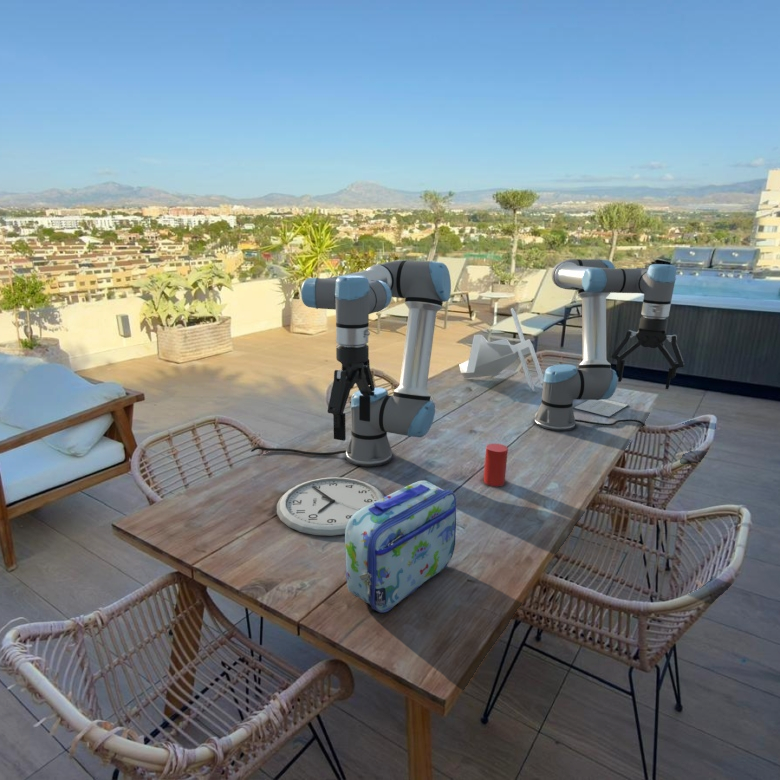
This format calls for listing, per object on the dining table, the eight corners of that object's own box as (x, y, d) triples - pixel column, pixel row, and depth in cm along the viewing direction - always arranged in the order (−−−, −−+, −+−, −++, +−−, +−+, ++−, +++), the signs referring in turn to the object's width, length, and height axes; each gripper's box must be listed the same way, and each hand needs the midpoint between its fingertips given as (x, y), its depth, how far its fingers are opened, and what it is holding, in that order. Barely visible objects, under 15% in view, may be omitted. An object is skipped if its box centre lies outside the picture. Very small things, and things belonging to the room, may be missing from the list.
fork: (417, 411, 216) (418, 406, 216) (428, 400, 231) (428, 395, 230) (423, 412, 215) (424, 407, 215) (434, 400, 230) (434, 396, 229)
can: (479, 481, 158) (482, 447, 154) (491, 475, 162) (493, 441, 159) (497, 488, 154) (500, 453, 150) (508, 481, 158) (511, 447, 155)
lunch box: (374, 626, 100) (375, 530, 93) (338, 598, 107) (337, 508, 101) (459, 568, 117) (465, 484, 111) (424, 547, 124) (427, 467, 118)
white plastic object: (480, 420, 263) (459, 397, 239) (461, 347, 286) (440, 319, 261) (551, 396, 251) (537, 369, 226) (526, 322, 273) (511, 290, 249)
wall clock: (392, 527, 129) (268, 531, 127) (391, 533, 130) (269, 537, 127) (383, 473, 158) (282, 475, 155) (383, 478, 158) (282, 480, 156)
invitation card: (608, 416, 214) (573, 407, 224) (608, 416, 214) (573, 408, 224) (628, 404, 229) (594, 396, 238) (628, 405, 229) (594, 397, 238)
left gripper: (341, 357, 109) (342, 451, 115) (388, 336, 131) (387, 415, 137) (310, 353, 111) (313, 445, 118) (361, 333, 133) (361, 411, 140)
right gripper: (608, 314, 161) (598, 380, 167) (701, 323, 148) (687, 394, 155) (612, 311, 167) (603, 375, 173) (702, 319, 155) (688, 388, 161)
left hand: (352, 429), depth 127 cm, fingers open, 13 cm apart
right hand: (643, 384), depth 164 cm, fingers open, 13 cm apart
